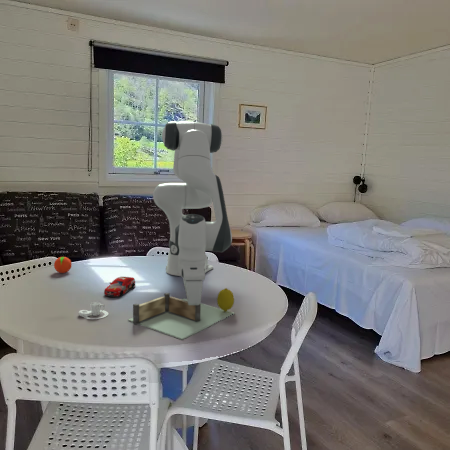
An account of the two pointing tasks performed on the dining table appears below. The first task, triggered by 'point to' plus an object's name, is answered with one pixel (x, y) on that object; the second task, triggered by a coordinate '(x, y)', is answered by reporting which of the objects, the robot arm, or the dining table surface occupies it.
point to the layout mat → (184, 321)
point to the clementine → (62, 264)
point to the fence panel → (184, 308)
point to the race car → (120, 286)
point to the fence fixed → (150, 308)
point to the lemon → (225, 299)
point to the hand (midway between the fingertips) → (191, 308)
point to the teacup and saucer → (93, 311)
